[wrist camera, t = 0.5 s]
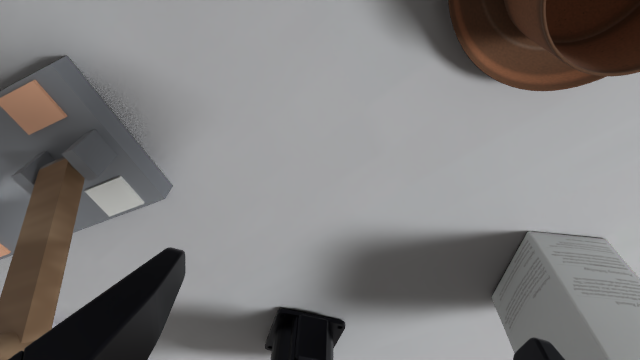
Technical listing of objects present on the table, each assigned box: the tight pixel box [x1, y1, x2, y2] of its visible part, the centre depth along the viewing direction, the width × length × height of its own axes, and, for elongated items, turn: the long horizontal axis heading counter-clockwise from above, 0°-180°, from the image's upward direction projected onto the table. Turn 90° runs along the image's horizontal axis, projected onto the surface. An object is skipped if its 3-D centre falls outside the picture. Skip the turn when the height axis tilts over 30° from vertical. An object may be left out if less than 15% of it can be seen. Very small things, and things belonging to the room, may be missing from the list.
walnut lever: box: [0, 157, 85, 360], centre depth 19 cm, size 3×3×13 cm
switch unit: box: [0, 56, 173, 259], centre depth 25 cm, size 10×19×4 cm, turn 114°
